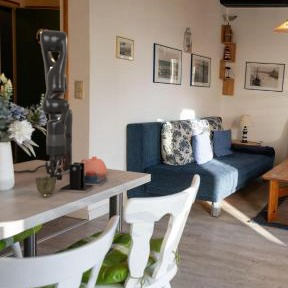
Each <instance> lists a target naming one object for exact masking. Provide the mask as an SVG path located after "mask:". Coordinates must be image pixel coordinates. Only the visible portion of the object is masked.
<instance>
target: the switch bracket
mask: <svg viewBox="0 0 288 288" xmlns="http://www.w3.org/2000/svg"><path fill="white" fill-rule="evenodd" d="M84 163H85V162H83V163H81V162H78V161H77V162H76V161H75V162H73V163H72V164H70V172H69V183H67V184H66V185H64V186H62V187H61V188H59V190H61V191H81V192H86V191H88V190H89V189H90V188H92V187H94V184H85V183H84ZM78 164H80V165H78ZM81 167H82V169H81Z"/></svg>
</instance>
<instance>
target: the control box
mask: <svg viewBox="0 0 288 288" xmlns="http://www.w3.org/2000/svg"><path fill="white" fill-rule="evenodd" d="M107 180H108V176H105V175H104V176H99V174H97V173H95V175H93V176H87V175H86V173H85V174H84V184H88V185H100V184H102V183H103V182H105V181H107Z"/></svg>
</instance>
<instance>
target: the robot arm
mask: <svg viewBox="0 0 288 288" xmlns="http://www.w3.org/2000/svg"><path fill="white" fill-rule="evenodd" d="M39 41H40V47H41V54H42V59H43V64H44V65H43V66H44V76H45V77H44V78H45V79H44V80H45V86H46V91H45V95H44V97H43V101H42V104H41V109H42V111H43V113H44V114H45V115H48V119H49V120H47V122H46V139H45V141H46V155H47V156H49V160H47V161H45V162H44V164H41V165H39V166H37V167H35V169H33V170H32V169H31V170H30V169H22V170H14V172H13V173H16V174H21V173H26V172H28V173H36V172H37V171H38V170H39V169H41V168H44V167H45V170H46V174H47V175H49V176H50V177H51V178H53V177H56V174H57V173H61V172H64V171H66V170H69V169H70V164H73V124H74V123H73V122H74V121H73V120H74V112H73V110H72V109H71V104H70V101H69V100H68V99H67V98H63V96H64V95H65V94H66V92H67V90H68V76H67V74H66V68H67V61H68V53H69V38H68V34H67V33H66V32H65V31H61V30H48V29H43V30H41V31H40V33H39ZM52 53H59V55H58V58H57V59H56V60H55V59H54V56H53V55H52ZM56 181H63V175H60V176H58V177H56Z"/></svg>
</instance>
